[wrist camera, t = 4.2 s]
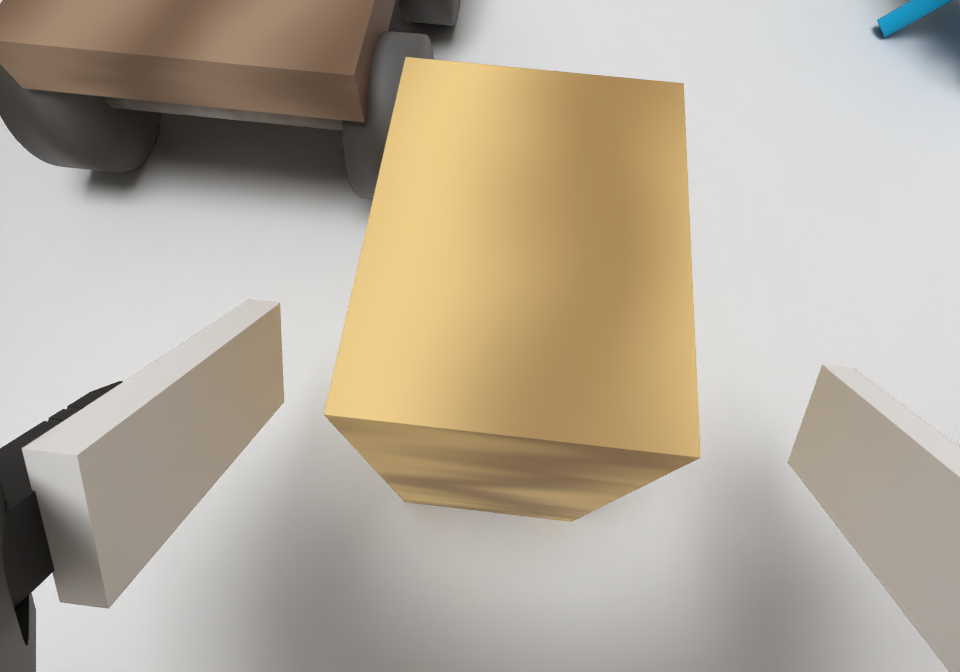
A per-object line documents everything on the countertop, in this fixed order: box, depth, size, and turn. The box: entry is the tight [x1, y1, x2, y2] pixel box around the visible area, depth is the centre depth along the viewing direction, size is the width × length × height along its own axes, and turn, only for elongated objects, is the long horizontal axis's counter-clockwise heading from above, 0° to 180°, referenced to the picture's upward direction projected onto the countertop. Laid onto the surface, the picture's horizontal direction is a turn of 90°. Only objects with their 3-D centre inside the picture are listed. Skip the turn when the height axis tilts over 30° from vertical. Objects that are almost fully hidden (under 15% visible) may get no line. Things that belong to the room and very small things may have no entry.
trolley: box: [0, 0, 460, 199], centre depth 24 cm, size 15×17×8 cm
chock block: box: [324, 57, 700, 522], centre depth 16 cm, size 6×8×12 cm
